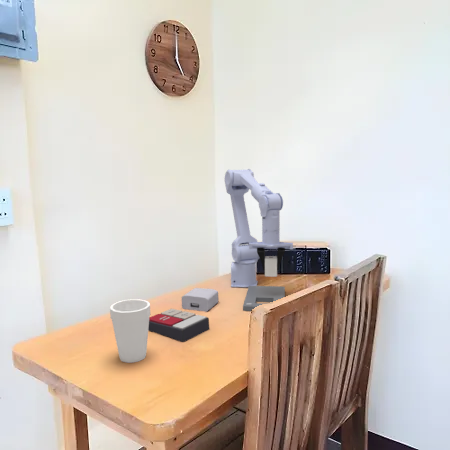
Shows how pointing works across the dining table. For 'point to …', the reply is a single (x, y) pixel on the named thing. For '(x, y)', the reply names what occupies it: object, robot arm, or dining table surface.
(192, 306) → the charger
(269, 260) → the charger
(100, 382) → the dining table surface
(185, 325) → the black button box
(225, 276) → the dining table surface
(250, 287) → the socket board
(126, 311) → the foam cup
